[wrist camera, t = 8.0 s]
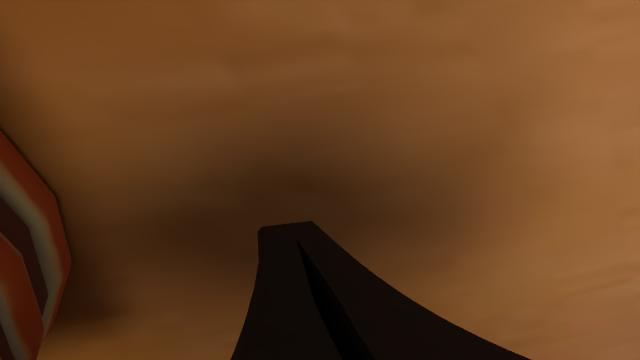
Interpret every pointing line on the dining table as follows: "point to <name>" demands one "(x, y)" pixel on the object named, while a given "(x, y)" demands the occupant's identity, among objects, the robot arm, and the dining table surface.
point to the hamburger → (28, 257)
